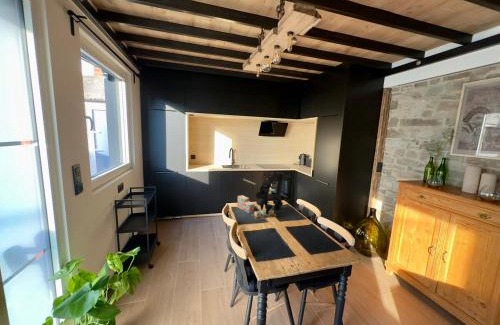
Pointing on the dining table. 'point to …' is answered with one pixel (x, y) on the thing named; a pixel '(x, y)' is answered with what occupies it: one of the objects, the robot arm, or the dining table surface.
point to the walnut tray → (264, 216)
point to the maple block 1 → (257, 213)
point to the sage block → (263, 212)
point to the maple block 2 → (271, 212)
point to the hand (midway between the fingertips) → (264, 212)
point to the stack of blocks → (245, 204)
